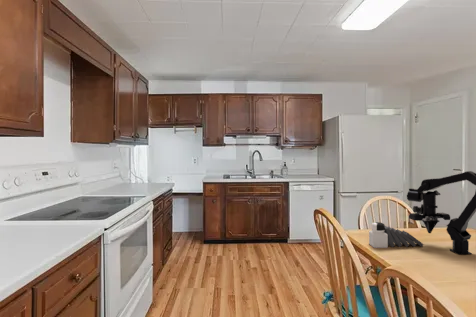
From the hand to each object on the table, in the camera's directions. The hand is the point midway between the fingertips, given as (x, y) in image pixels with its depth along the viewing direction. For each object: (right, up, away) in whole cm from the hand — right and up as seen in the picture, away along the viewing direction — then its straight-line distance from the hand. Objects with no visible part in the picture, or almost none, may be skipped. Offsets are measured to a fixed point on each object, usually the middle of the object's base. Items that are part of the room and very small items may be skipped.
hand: (429, 233), depth 163 cm
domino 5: (-5, -6, 0) cm, 7 cm away
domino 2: (-16, -6, 0) cm, 17 cm away
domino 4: (-9, -6, 0) cm, 10 cm away
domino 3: (-12, -6, 0) cm, 14 cm away
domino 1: (-20, -6, 0) cm, 21 cm away
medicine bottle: (-27, -7, 0) cm, 28 cm away
